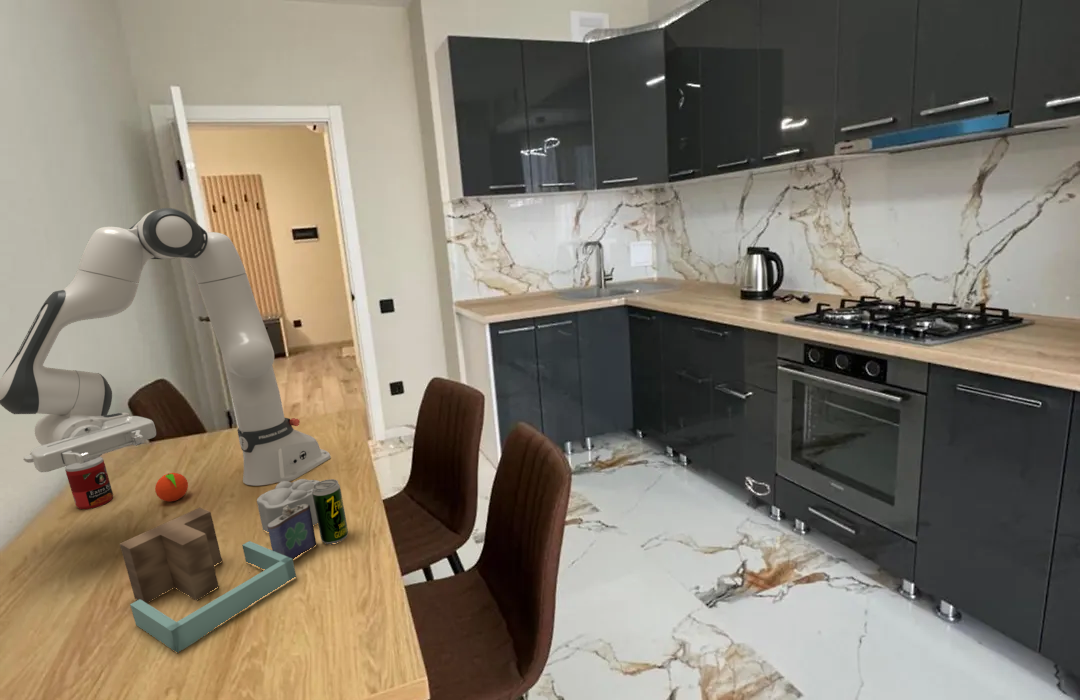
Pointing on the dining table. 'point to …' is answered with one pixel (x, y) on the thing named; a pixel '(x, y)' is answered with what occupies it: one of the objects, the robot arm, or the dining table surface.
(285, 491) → the grey bumpy block
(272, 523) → the flask
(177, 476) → the clementine
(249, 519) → the dining table surface
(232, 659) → the dining table surface
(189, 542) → the t block
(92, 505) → the canned food
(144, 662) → the dining table surface
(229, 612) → the fence
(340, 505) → the beer can
